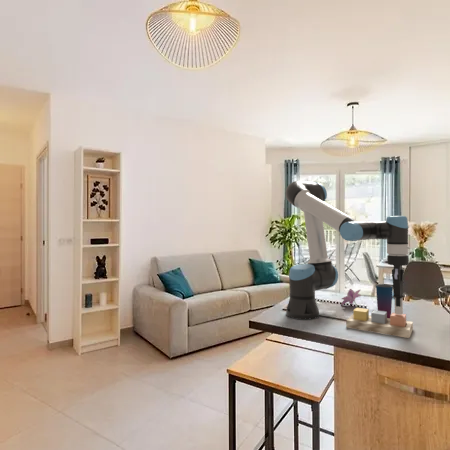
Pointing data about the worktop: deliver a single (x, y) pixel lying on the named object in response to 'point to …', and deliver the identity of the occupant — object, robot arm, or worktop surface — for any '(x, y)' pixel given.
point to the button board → (380, 327)
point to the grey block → (379, 316)
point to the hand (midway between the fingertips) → (398, 313)
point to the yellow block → (361, 314)
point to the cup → (384, 298)
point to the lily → (350, 297)
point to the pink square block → (398, 320)
